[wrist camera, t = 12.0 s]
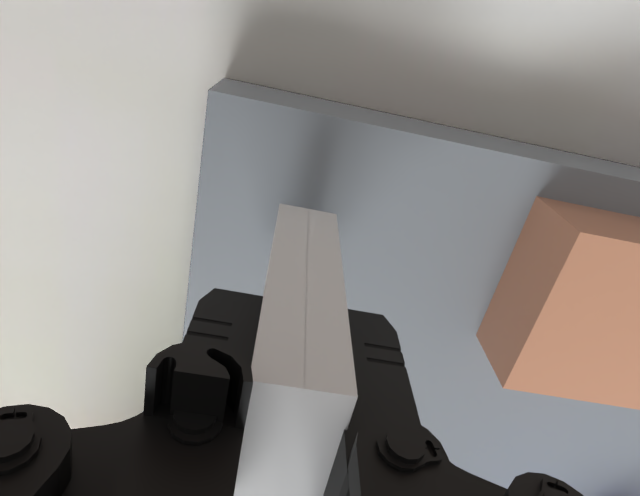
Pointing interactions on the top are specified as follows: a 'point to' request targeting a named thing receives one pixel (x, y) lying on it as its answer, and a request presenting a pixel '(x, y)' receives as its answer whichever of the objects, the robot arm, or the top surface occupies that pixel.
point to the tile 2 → (569, 307)
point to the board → (415, 259)
